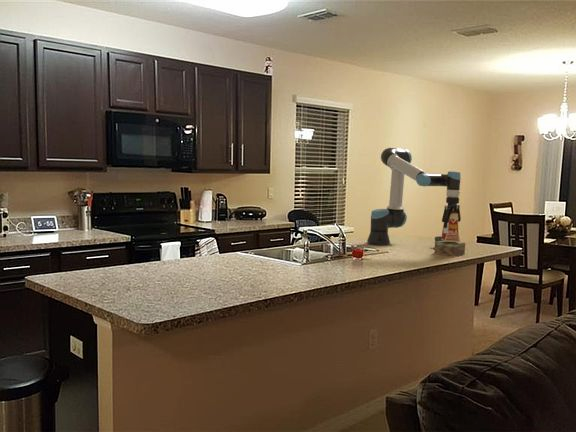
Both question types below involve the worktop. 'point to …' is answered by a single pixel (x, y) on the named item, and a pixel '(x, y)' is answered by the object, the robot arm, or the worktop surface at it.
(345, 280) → the worktop surface
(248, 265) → the worktop surface
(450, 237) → the milk carton
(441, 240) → the mortar and pestle
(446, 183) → the robot arm
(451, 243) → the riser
